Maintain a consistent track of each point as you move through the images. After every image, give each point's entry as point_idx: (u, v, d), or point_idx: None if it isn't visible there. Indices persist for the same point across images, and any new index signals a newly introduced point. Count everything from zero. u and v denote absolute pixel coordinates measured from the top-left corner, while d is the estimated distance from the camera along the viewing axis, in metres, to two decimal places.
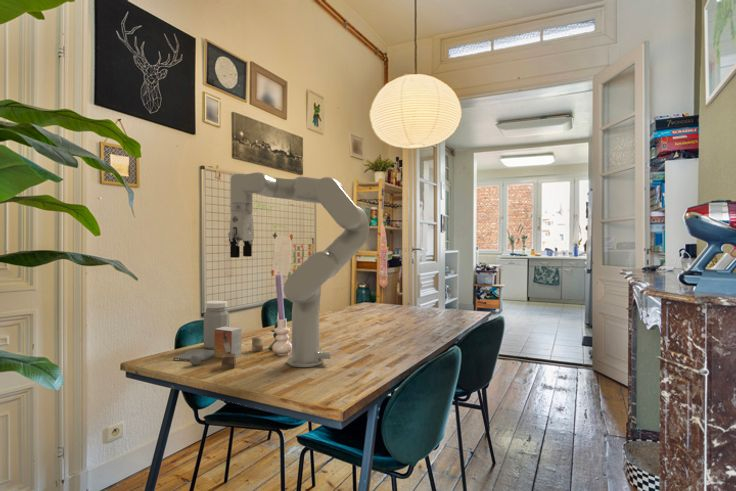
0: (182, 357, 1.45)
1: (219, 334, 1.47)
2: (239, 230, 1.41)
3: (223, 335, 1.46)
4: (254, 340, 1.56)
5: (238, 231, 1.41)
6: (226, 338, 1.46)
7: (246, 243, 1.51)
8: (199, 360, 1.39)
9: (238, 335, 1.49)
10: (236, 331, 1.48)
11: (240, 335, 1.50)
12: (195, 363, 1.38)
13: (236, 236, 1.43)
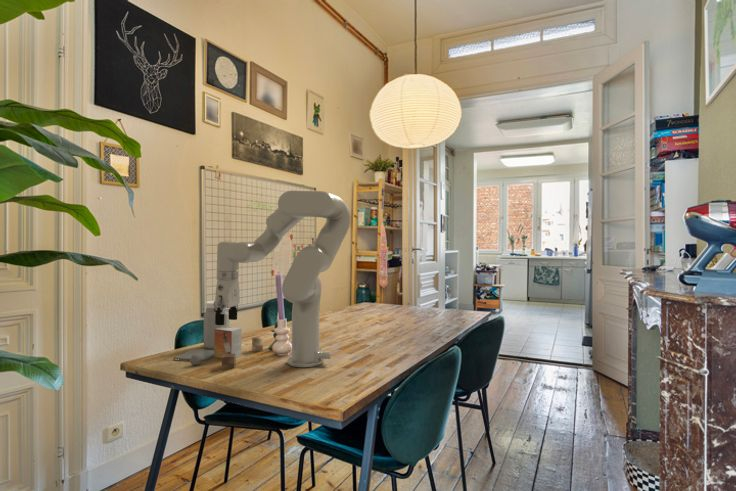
0: (182, 357, 1.45)
1: (219, 334, 1.47)
2: (224, 298, 1.44)
3: (223, 335, 1.46)
4: (254, 340, 1.56)
5: (223, 300, 1.44)
6: (226, 338, 1.46)
7: (232, 306, 1.54)
8: (199, 360, 1.39)
9: (238, 335, 1.49)
10: (236, 331, 1.48)
11: (240, 335, 1.50)
12: (195, 363, 1.38)
13: (221, 303, 1.46)
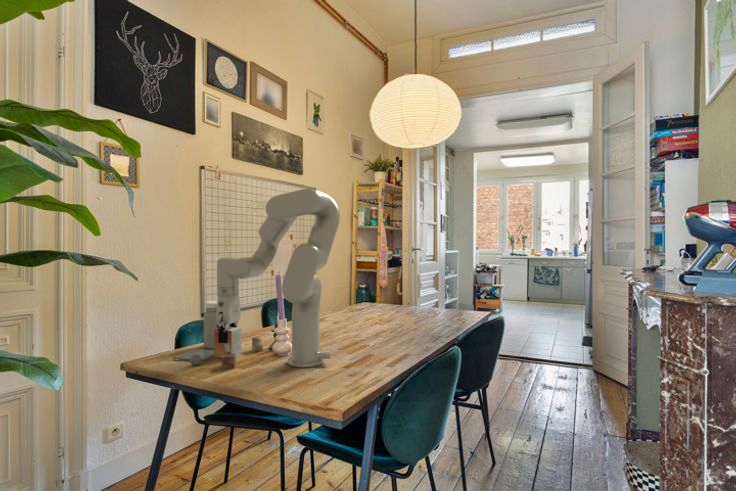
0: (182, 357, 1.45)
1: None
2: (225, 315, 1.44)
3: None
4: (254, 340, 1.56)
5: (224, 316, 1.44)
6: None
7: (231, 324, 1.53)
8: (199, 360, 1.39)
9: (238, 335, 1.49)
10: (236, 331, 1.48)
11: (240, 335, 1.50)
12: (195, 363, 1.38)
13: None
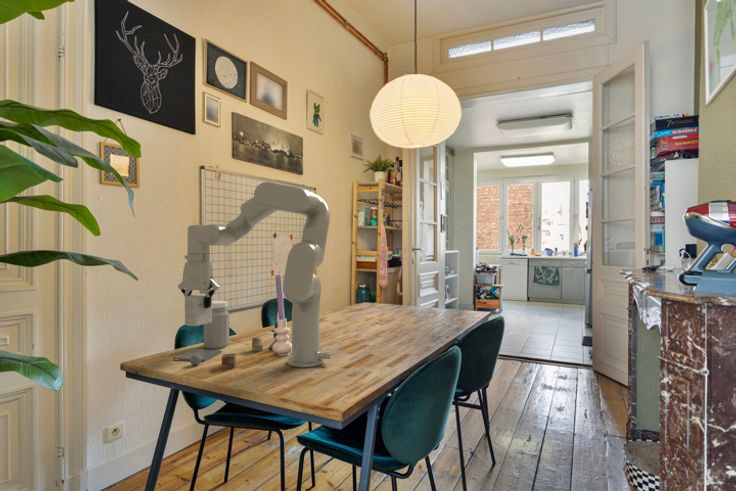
0: (182, 357, 1.45)
1: None
2: None
3: None
4: (254, 340, 1.56)
5: None
6: None
7: None
8: (199, 360, 1.39)
9: (192, 303, 1.46)
10: (189, 298, 1.46)
11: (194, 304, 1.45)
12: (195, 363, 1.38)
13: None
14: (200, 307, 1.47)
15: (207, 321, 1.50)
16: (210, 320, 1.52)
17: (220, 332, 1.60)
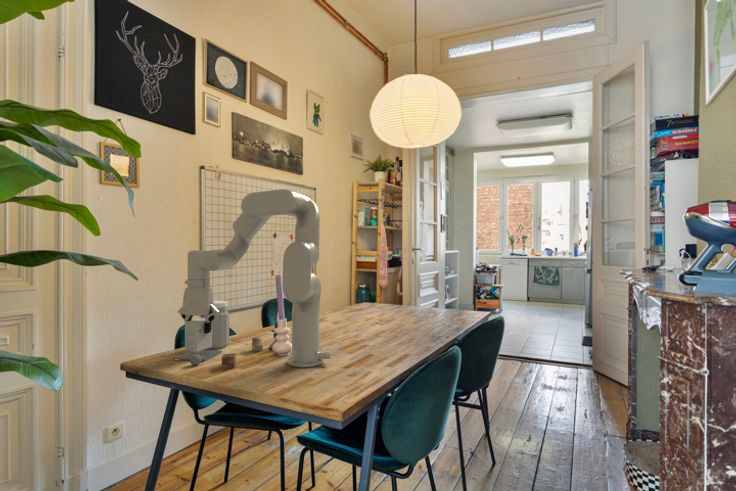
0: (182, 357, 1.45)
1: None
2: None
3: None
4: (254, 340, 1.56)
5: None
6: None
7: None
8: (199, 360, 1.39)
9: (192, 329, 1.46)
10: (190, 324, 1.46)
11: (194, 330, 1.45)
12: (195, 363, 1.38)
13: None
14: (201, 333, 1.47)
15: (207, 346, 1.50)
16: (210, 345, 1.52)
17: (220, 332, 1.60)
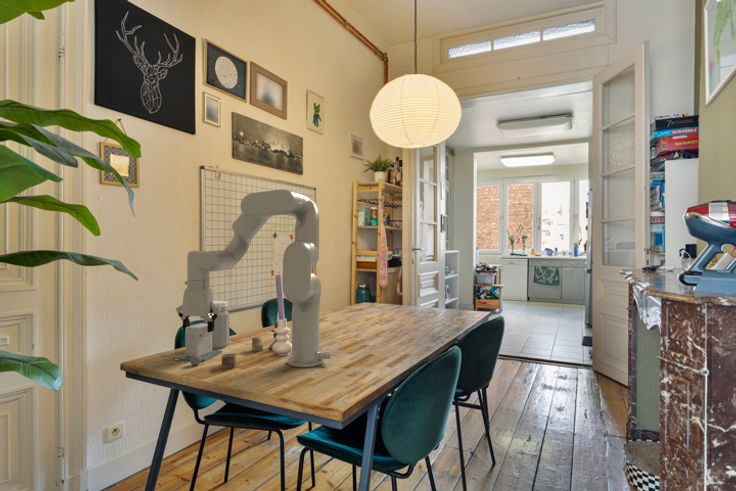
0: (182, 357, 1.45)
1: None
2: None
3: None
4: (254, 340, 1.56)
5: None
6: None
7: None
8: (199, 360, 1.39)
9: (193, 334, 1.46)
10: (190, 329, 1.46)
11: (195, 335, 1.45)
12: (195, 363, 1.38)
13: None
14: (201, 338, 1.47)
15: (208, 351, 1.51)
16: (210, 350, 1.52)
17: (220, 332, 1.60)
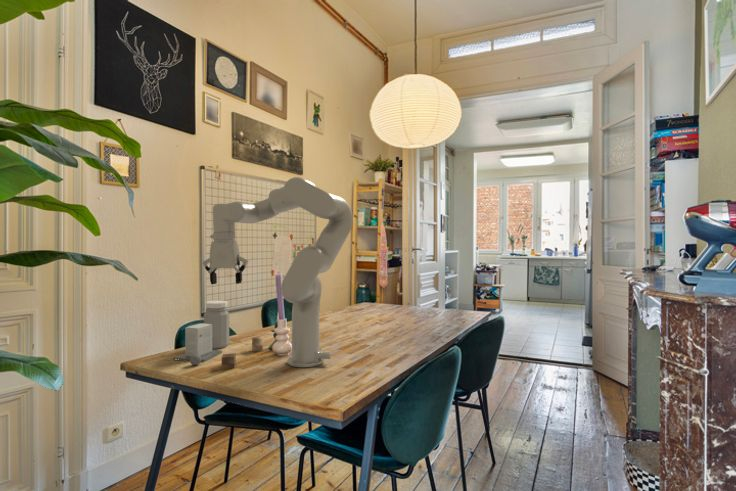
0: (182, 357, 1.45)
1: None
2: None
3: None
4: (254, 340, 1.56)
5: None
6: None
7: None
8: (199, 360, 1.39)
9: (193, 334, 1.46)
10: (190, 329, 1.46)
11: (195, 335, 1.45)
12: (195, 363, 1.38)
13: None
14: (201, 338, 1.47)
15: (208, 351, 1.51)
16: (210, 350, 1.52)
17: (220, 332, 1.60)
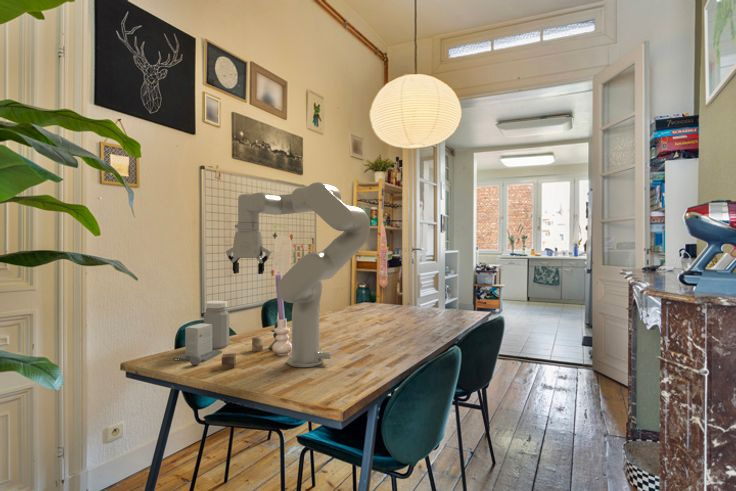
0: (182, 357, 1.45)
1: None
2: None
3: None
4: (254, 340, 1.56)
5: None
6: None
7: None
8: (199, 360, 1.39)
9: (193, 334, 1.46)
10: (190, 329, 1.46)
11: (195, 335, 1.45)
12: (195, 363, 1.38)
13: None
14: (201, 338, 1.47)
15: (208, 351, 1.51)
16: (210, 350, 1.52)
17: (220, 332, 1.60)
